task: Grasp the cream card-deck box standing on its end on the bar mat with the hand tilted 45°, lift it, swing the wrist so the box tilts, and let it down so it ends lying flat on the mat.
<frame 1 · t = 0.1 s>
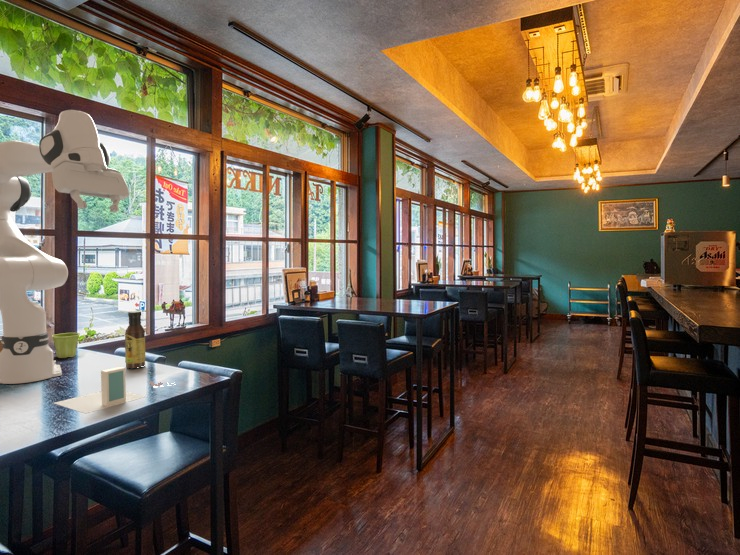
hand: (99, 209, 130), 52 cm above the table, tool tilted 20°, fingers open, 8 cm apart
bar mat: (100, 401, 124), on the table
card deck: (114, 403, 121), resting on bar mat
mobile phone: (161, 383, 144), on the table
sauce bottle: (135, 368, 162), on the table
plant pot: (66, 357, 181), on the table
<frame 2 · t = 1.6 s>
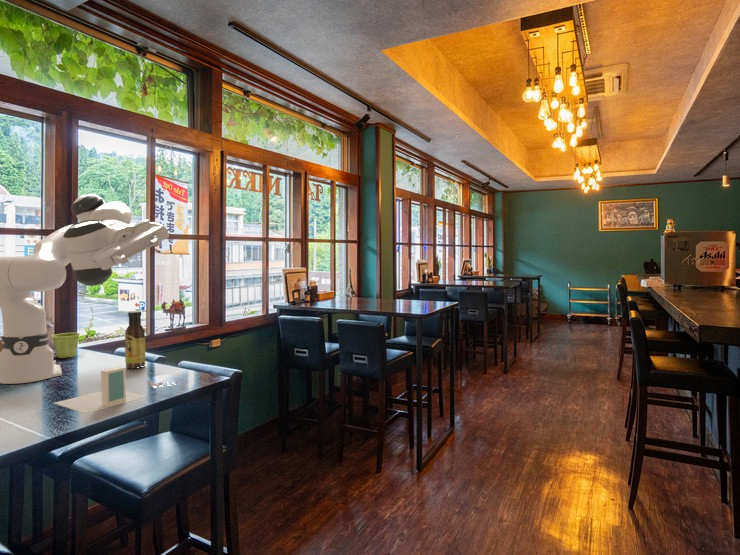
hand: (141, 252, 126), 40 cm above the table, tool horizontal, fingers open, 8 cm apart
nothing on the table moved.
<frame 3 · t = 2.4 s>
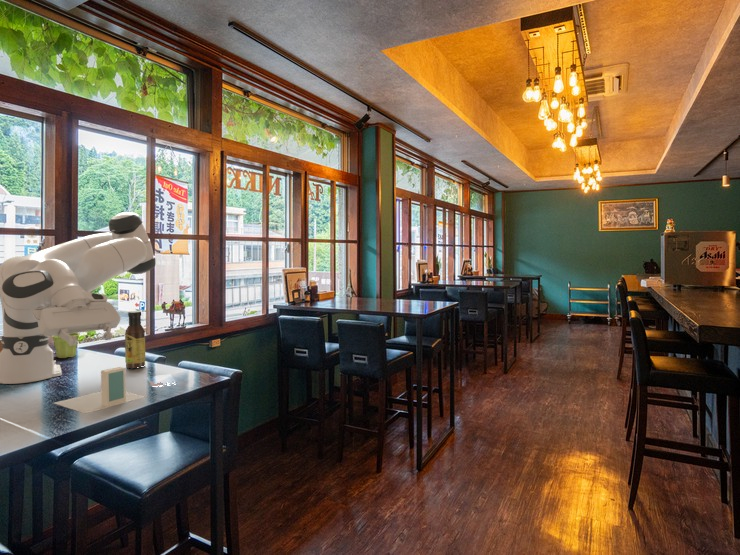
hand: (91, 341, 127), 16 cm above the table, tool tilted 45°, fingers open, 8 cm apart
nothing on the table moved.
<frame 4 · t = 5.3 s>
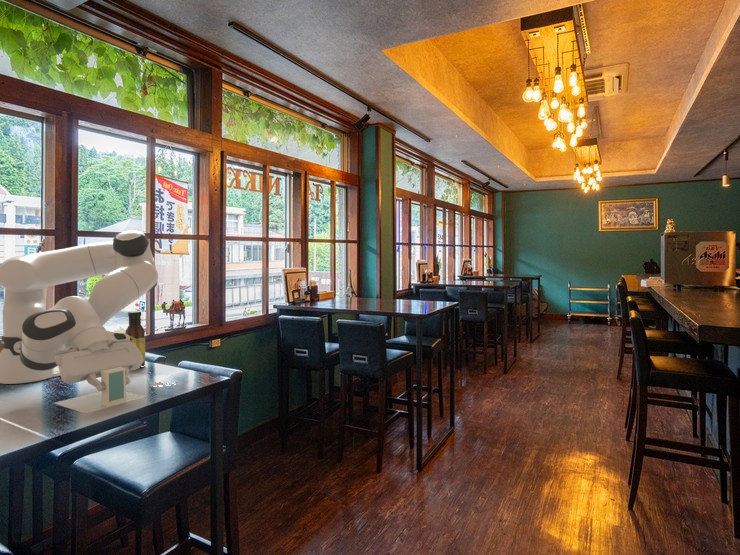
hand: (115, 386, 121), 5 cm above the table, tool tilted 45°, fingers closed on card deck, 5 cm apart
card deck: (114, 403, 121), resting on bar mat, touching gripper
everything else where it was.
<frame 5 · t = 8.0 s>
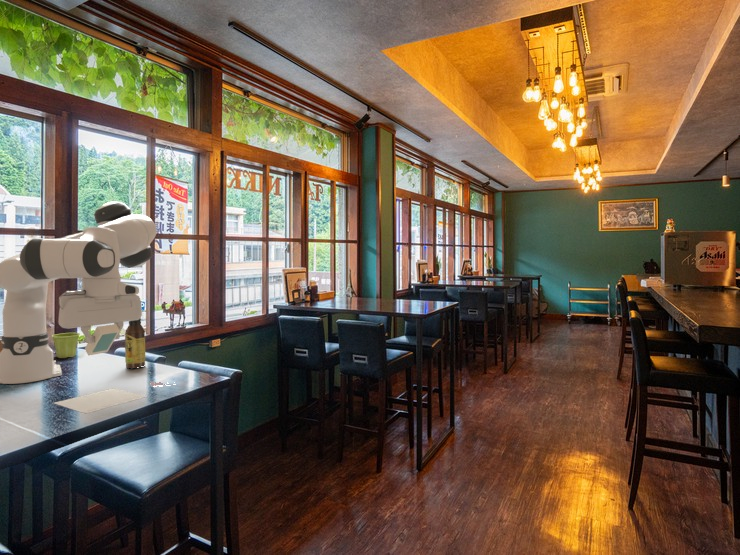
hand: (103, 341, 123), 16 cm above the table, tool pointing down, fingers closed on card deck, 5 cm apart
card deck: (96, 350, 125), point 14 cm above the table, tilted 45°, touching gripper
everything else where it was.
when the fingers open (6 cm above the table, at t = 10.3 s): card deck drops 2 cm and tips over, resting on bar mat.
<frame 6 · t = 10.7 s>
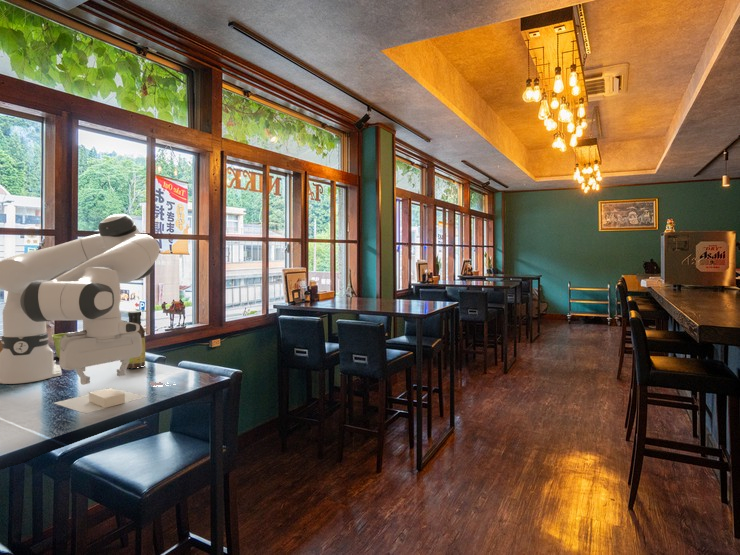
hand: (103, 379, 123), 6 cm above the table, tool pointing down, fingers open, 8 cm apart
card deck: (98, 394, 124), point 2 cm above the table, tilted 90°, touching bar mat
everything else where it was.
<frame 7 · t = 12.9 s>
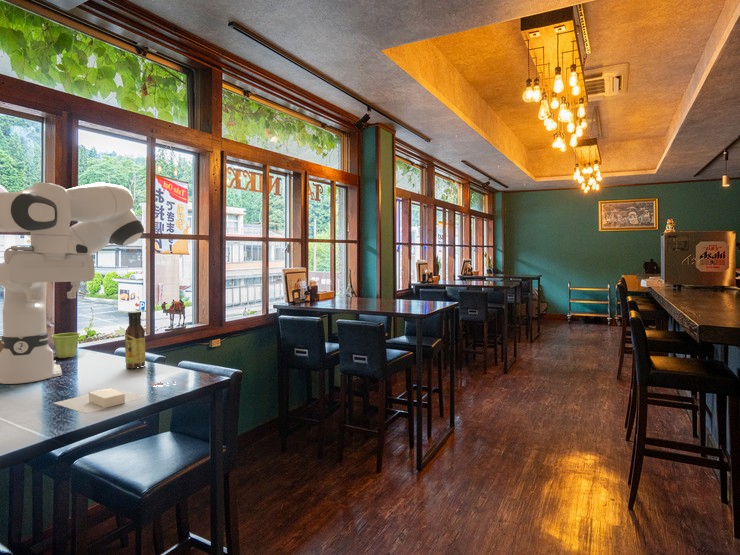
hand: (52, 299, 121), 28 cm above the table, tool pointing down, fingers open, 8 cm apart
nothing on the table moved.
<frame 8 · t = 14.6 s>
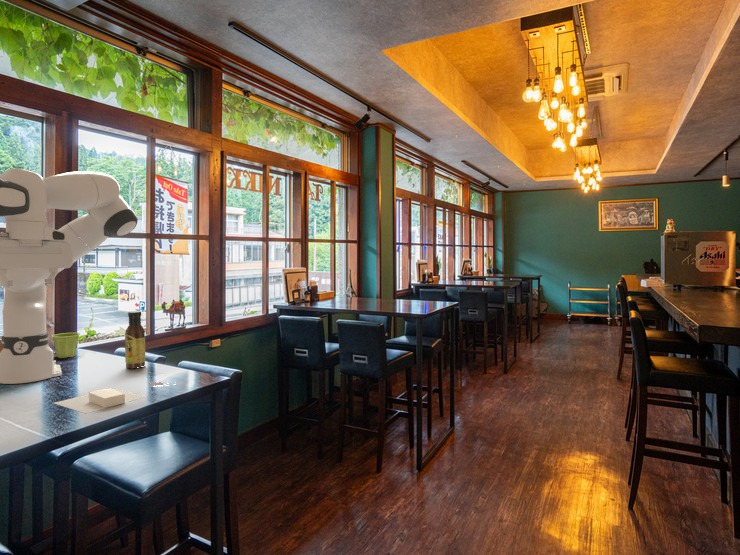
hand: (29, 286, 121), 31 cm above the table, tool pointing down, fingers open, 8 cm apart
nothing on the table moved.
at the end: card deck tilted 90°; card deck inside the target area on the bar mat (0.6 cm from its centre), point 1.7 cm above the bar mat's base; the gripper is holding nothing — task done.
